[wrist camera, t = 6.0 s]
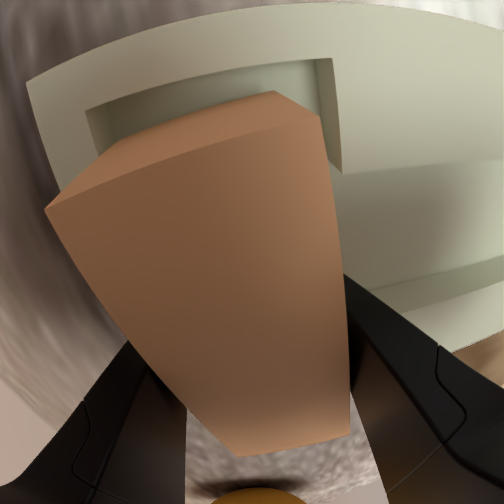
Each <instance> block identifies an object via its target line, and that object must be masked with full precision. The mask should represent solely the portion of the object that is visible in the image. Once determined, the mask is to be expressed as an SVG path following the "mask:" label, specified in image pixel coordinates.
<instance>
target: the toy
mask: <svg viewBox="0 0 504 504" xmlns="http://www.w3.org/2000/svg"><path fill="white" fill-rule="evenodd" d="M211 504H306V503H305V502H304V501H303V500H301V499H300V498H298V497H296V496H294V495H292V494H290V493H287V492H285V491H282V490H278V489H273V488H263V487H255V488H245V489H240V490H237V491H233V492H231V493H228V494H226V495H224V496H222V497H220V498H218V499H217V500H215V501H214V502H213V503H211Z"/></svg>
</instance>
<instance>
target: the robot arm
mask: <svg viewBox="0 0 504 504" xmlns="http://www.w3.org/2000/svg"><path fill="white" fill-rule="evenodd" d="M343 278H344V289H345V301H346V314H347V329H348V348H349V374H350V391H351V394H352V396H353V399H354V402H355V405H356V407H357V410H358V413H359V416H360V418H361V421H362V424H363V427H364V430H365V432H366V435H367V438H368V441H369V444H370V447H371V450H372V453H373V455H374V458H375V461H376V464H377V467H378V470H379V473H380V476H381V479H382V482H383V485H384V488H385V491H386V493H387V498H388V501H389V504H504V388H502V387H501V386H499V385H498V384H496V383H494V382H493V381H491V380H490V379H488V378H486V377H485V376H483V375H482V374H480V373H479V372H477V371H476V370H474V369H473V368H471V367H470V366H468V365H467V364H465V363H464V362H463V361H461V360H460V359H459V358H457V357H456V356H455V355H453V354H452V353H451V352H449V351H448V350H447V349H445V348H444V347H443V346H442V345H438V343H437V342H436V341H435V340H434V339H432V338H431V337H430V336H428V335H427V334H426V333H424V332H423V331H422V330H420V329H419V328H418V327H416V326H415V325H414V324H412V323H411V322H410V321H408V320H407V319H406V318H404V317H403V316H402V315H400V314H399V313H398V312H396V311H395V310H394V309H392V308H391V307H390V306H388V305H387V304H385V303H384V302H383V301H381V300H380V299H379V298H377V297H376V296H375V295H373V294H372V293H370V292H369V291H368V290H366V289H365V288H364V287H362V286H361V285H359V284H358V283H357V282H355V281H354V280H352V279H351V278H350V277H348V276H347V275H345V274H344V273H343ZM186 422H187V408H186V406H185V405H184V404H183V403H182V402H181V401H180V400H179V399H178V398H177V397H176V396H175V395H174V394H173V392H172V391H171V390H170V389H169V388H168V387H167V386H166V385H165V384H164V382H163V381H162V380H161V379H160V378H159V377H158V376H157V374H156V373H155V372H154V371H153V370H152V369H151V367H150V366H149V365H148V364H147V363H146V361H145V360H144V359H143V358H142V356H141V355H140V354H139V353H138V352H137V350H136V349H135V348H134V347H133V345H132V344H131V343H130V341H129V340H127V342H126V343H125V344H124V346H123V347H122V348H121V349H120V351H119V352H118V353H117V355H116V356H115V357H114V359H113V360H112V361H111V362H110V364H109V365H108V366H107V368H106V369H105V370H104V372H103V373H102V374H101V376H100V377H99V378H98V380H97V381H96V382H95V384H94V385H93V386H92V388H91V389H90V390H89V392H88V393H87V394H86V396H85V397H84V401H81V402H80V404H79V405H78V406H77V408H76V409H75V410H74V412H73V413H72V414H71V416H70V417H69V418H68V420H67V421H66V422H65V424H64V425H63V426H62V427H61V429H60V430H59V431H58V432H57V433H56V435H55V436H54V437H53V438H52V440H51V441H50V442H49V443H48V444H47V445H46V446H45V447H44V449H43V450H42V451H41V452H40V453H39V455H38V456H37V457H36V458H35V459H34V460H33V461H32V463H31V464H30V465H29V466H28V467H27V468H26V470H25V471H24V472H23V473H22V474H21V475H20V476H19V477H17V478H16V479H15V480H14V481H12V482H10V483H8V484H6V485H3V486H0V504H185V452H186Z"/></svg>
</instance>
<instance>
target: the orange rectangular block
mask: <svg viewBox="0 0 504 504" xmlns="http://www.w3.org/2000/svg"><path fill="white" fill-rule="evenodd" d="M44 211H45V213H46V215H47V217H48V219H49V221H50V222H51V224H52V226H53V228H54V230H55V231H56V233H57V235H58V237H59V238H60V240H61V242H62V243H63V245H64V247H65V248H66V250H67V252H68V253H69V255H70V257H71V258H72V260H73V262H74V263H75V265H76V266H77V268H78V270H79V271H80V273H81V274H82V276H83V277H84V279H85V280H86V282H87V283H88V285H89V286H90V288H91V289H92V291H93V292H94V294H95V295H96V297H97V298H98V300H99V301H100V302H101V304H102V305H103V307H104V308H105V309H106V311H107V312H108V314H109V315H110V316H111V318H112V319H113V320H114V322H115V323H116V324H117V326H118V327H119V328H120V330H121V331H122V332H123V334H124V335H125V336H126V338H127V339H128V340H129V341H130V343H131V344H132V345H133V347H134V348H135V349H136V350H137V352H138V353H139V354H140V355H141V356H142V358H143V359H144V360H145V361H146V363H147V364H148V365H149V366H150V367H151V369H152V370H153V371H154V372H155V373H156V374H157V376H158V377H159V378H160V379H161V380H162V381H163V382H164V384H165V385H166V386H167V387H168V388H169V389H170V390H171V391H172V392H173V394H174V395H175V396H176V397H177V398H178V399H179V400H180V401H181V402H182V403H183V404H184V405H185V406H186V408H187V409H188V410H189V411H190V412H191V413H192V414H193V415H194V416H195V417H196V418H197V419H198V420H199V421H200V422H201V423H202V424H203V425H204V426H205V427H206V428H207V429H208V430H209V431H210V432H211V433H212V434H213V435H214V436H215V437H216V438H217V439H218V440H219V441H221V442H222V443H223V444H224V445H225V446H226V447H227V448H228V449H229V450H230V451H231V452H232V453H234V454H235V455H236V456H237V457H246V456H253V455H260V454H266V453H272V452H278V451H283V450H288V449H293V448H298V447H303V446H307V445H312V444H316V443H320V442H324V441H328V440H332V439H336V438H340V437H343V436H347V435H350V374H349V348H348V329H347V314H346V301H345V289H344V278H343V268H342V258H341V249H340V240H339V232H338V224H337V217H336V210H335V203H334V196H333V189H332V183H331V176H330V170H329V164H328V159H327V153H326V147H325V142H324V137H323V132H322V126H321V121H320V117H319V116H317V115H316V114H314V113H313V112H311V111H309V110H308V109H306V108H304V107H303V106H301V105H299V104H297V103H296V102H294V101H292V100H291V99H289V98H287V97H285V96H284V95H282V94H280V93H278V92H276V91H275V90H272V91H268V92H263V93H259V94H255V95H251V96H247V97H244V98H240V99H236V100H233V101H229V102H225V103H222V104H219V105H215V106H212V107H209V108H205V109H202V110H199V111H196V112H193V113H190V114H187V115H184V116H181V117H178V118H175V119H172V120H169V121H167V122H164V123H161V124H158V125H156V126H153V127H150V128H148V129H145V130H143V131H140V132H138V133H135V134H133V135H130V136H128V137H125V138H123V139H121V140H118V141H117V142H116V143H115V144H113V145H112V146H111V147H110V148H109V149H107V150H106V151H105V152H104V153H103V154H102V155H100V156H99V157H98V158H97V159H96V160H95V161H94V162H92V163H91V164H90V165H89V166H88V167H87V168H86V169H85V170H84V171H83V172H81V173H80V174H79V175H78V176H77V177H76V178H75V179H74V180H73V181H72V182H71V183H70V184H69V185H68V186H67V187H66V188H65V189H64V190H63V191H62V192H61V193H60V194H59V195H58V196H57V197H56V198H55V199H54V200H53V201H52V202H51V203H50V204H49V205H48V206H47V207H46V208H45V209H44Z"/></svg>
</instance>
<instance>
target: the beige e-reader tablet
mask: <svg viewBox="0 0 504 504" xmlns="http://www.w3.org/2000/svg"><path fill="white" fill-rule="evenodd" d="M452 354H453V355H455V356H456V357H457V358H459V359H460V360H461V361H463V362H464V363H465V364H467V365H468V366H470V367H471V368H473V369H474V370H476V371H477V372H479V373H480V374H482V375H483V376H485V377H486V378H488V379H490V380H491V381H493V382H494V383H496V384H498V385H499V386H501V387H502V388H504V331H502V332H500V333H497V334H495V335H493V336H491V337H489V338H486V339H484V340H482V341H480V342H477V343H475V344H473V345H470V346H468V347H465V348H463V349H461V350H458V351H455V352H453V353H452Z"/></svg>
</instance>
